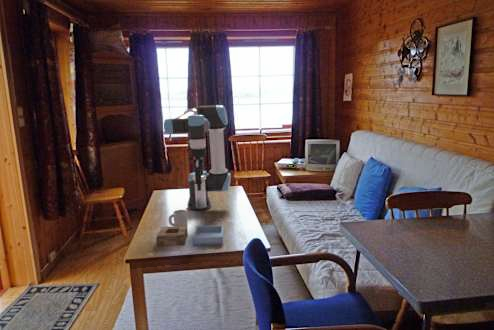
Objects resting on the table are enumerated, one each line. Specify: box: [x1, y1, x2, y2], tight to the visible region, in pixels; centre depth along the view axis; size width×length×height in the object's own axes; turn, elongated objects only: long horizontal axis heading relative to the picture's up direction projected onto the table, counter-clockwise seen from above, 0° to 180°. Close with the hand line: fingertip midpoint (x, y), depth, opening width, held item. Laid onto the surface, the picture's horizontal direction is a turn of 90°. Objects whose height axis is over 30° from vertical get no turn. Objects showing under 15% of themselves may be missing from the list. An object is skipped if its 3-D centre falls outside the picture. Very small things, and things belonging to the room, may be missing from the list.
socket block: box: [156, 225, 189, 247], centre depth 180 cm, size 13×13×5 cm
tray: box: [192, 224, 225, 247], centre depth 180 cm, size 16×14×4 cm
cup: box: [168, 209, 189, 228], centre depth 197 cm, size 7×10×9 cm
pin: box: [193, 175, 206, 208], centre depth 176 cm, size 6×6×15 cm
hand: (200, 195), depth 176 cm, fingers closed on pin, 5 cm apart
